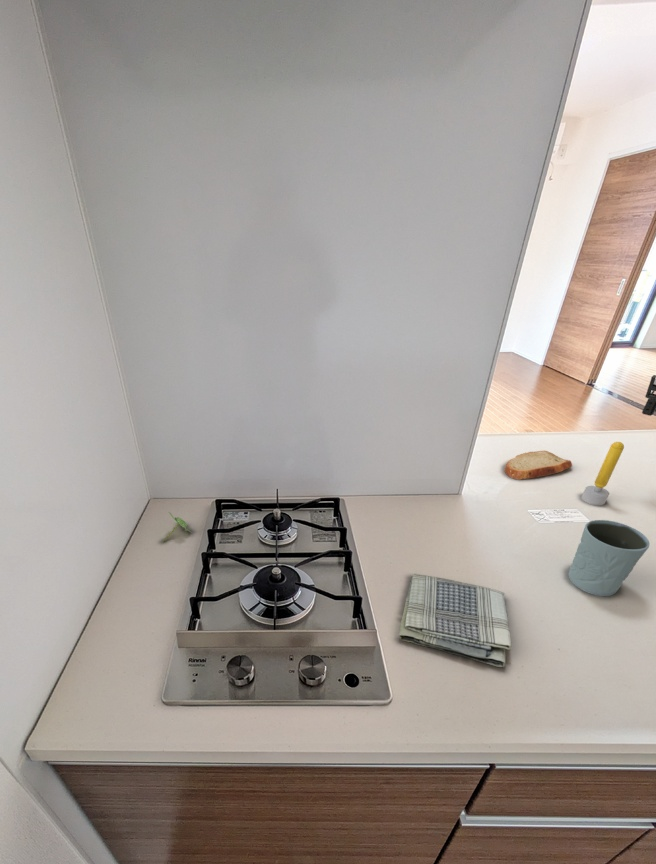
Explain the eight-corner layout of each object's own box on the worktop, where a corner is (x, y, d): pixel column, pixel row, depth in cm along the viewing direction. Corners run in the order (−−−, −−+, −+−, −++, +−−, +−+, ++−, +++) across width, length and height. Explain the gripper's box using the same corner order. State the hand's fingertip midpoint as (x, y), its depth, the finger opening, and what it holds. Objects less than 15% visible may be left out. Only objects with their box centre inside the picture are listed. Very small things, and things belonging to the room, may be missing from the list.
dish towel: (409, 576, 91) (411, 564, 89) (503, 597, 85) (507, 585, 84) (396, 643, 77) (399, 630, 75) (508, 674, 71) (514, 661, 69)
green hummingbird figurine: (175, 551, 107) (191, 530, 109) (177, 551, 100) (194, 528, 101) (151, 533, 106) (168, 512, 108) (151, 532, 99) (169, 509, 100)
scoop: (603, 497, 115) (630, 440, 106) (605, 507, 111) (634, 448, 102) (580, 493, 117) (605, 436, 108) (582, 502, 113) (607, 444, 104)
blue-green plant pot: (557, 581, 89) (578, 534, 82) (572, 558, 95) (593, 513, 88) (615, 607, 83) (644, 558, 76) (627, 580, 89) (655, 533, 82)
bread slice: (504, 478, 125) (508, 466, 123) (503, 452, 139) (506, 441, 137) (576, 489, 119) (581, 477, 117) (567, 461, 133) (572, 450, 131)
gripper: (694, 348, 93) (656, 423, 103) (717, 338, 100) (680, 410, 109) (653, 341, 99) (621, 414, 108) (677, 333, 105) (645, 402, 115)
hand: (650, 412), depth 109 cm, fingers open, 3 cm apart
